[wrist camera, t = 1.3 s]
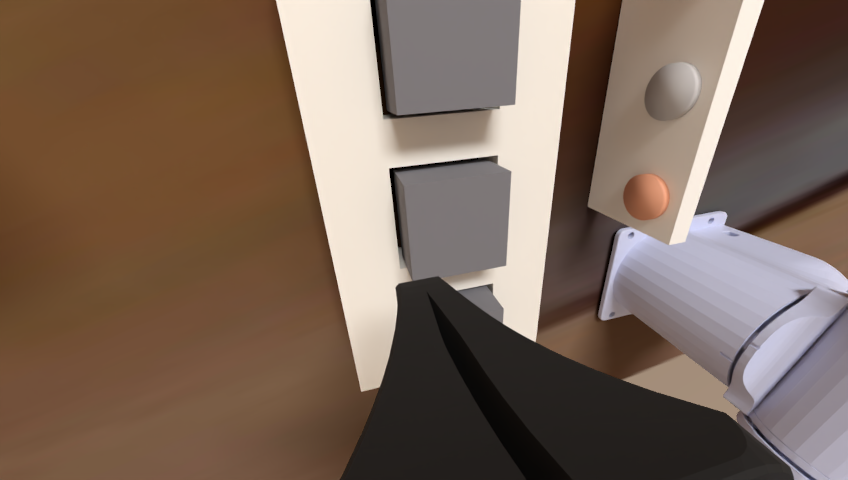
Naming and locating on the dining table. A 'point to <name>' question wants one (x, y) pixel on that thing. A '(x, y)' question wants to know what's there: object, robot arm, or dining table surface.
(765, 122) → the dining table surface
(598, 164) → the card
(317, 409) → the dining table surface
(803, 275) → the robot arm
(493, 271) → the button board
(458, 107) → the button mug side
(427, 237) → the button middle
